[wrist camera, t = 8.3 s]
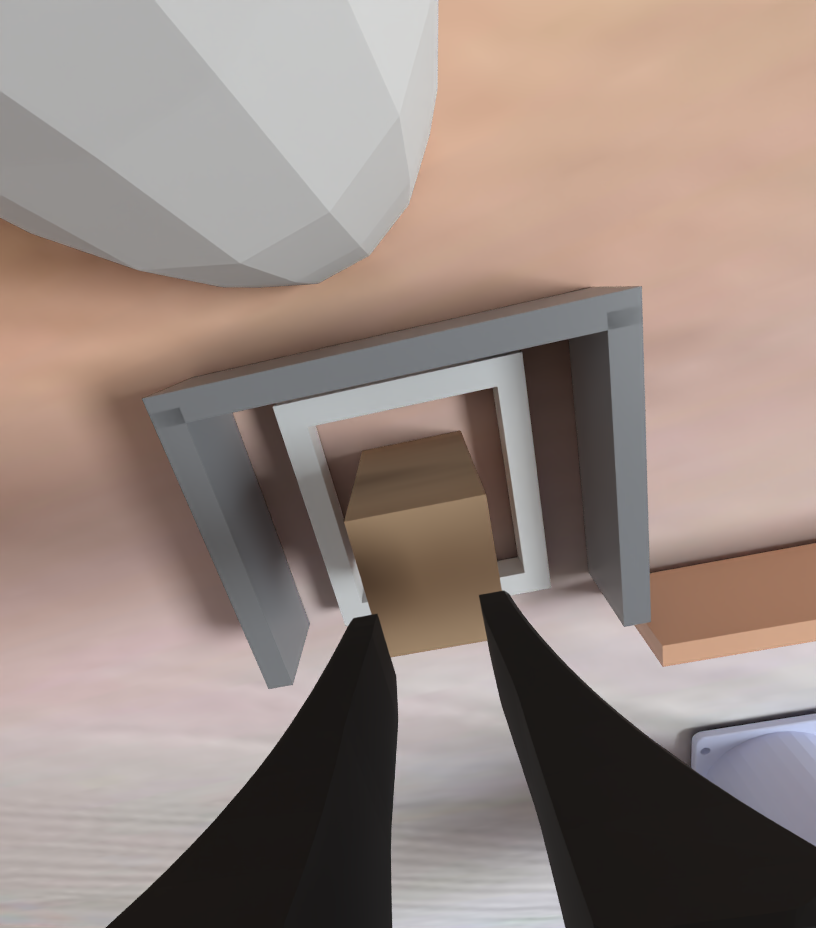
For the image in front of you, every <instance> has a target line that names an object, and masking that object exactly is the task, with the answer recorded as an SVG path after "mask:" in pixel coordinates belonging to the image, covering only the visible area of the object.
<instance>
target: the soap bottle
mask: <svg viewBox="0 0 816 928" xmlns="http://www.w3.org/2000/svg"><path fill="white" fill-rule="evenodd" d="M437 86H438V0H0V218H2V219H4V220H6V221H7V222H9V223H11V224H13V225H15V226H17V227H19V228H21V229H23V230H25V231H27V232H29V233H31V234H34V235H37V236H40V237H43V238H46V239H49V240H52V241H54V242H57V243H60V244H63V245H66V246H69V247H72V248H75V249H78V250H81V251H83V252H86V253H89V254H92V255H95V256H98V257H101V258H104V259H107V260H110V261H113V262H115V263H118V264H121V265H124V266H127V267H130V268H133V269H136V270H139V271H144V272H149V273H154V274H159V275H164V276H169V277H174V278H179V279H184V280H189V281H194V282H199V283H204V284H209V285H214V286H219V287H247V288H262V287H276V286H291V285H306V284H318V283H320V282H322V281H324V280H325V279H327V278H329V277H331V276H333V275H335V274H336V273H338V272H340V271H342V270H344V269H346V268H347V267H349V266H351V265H353V264H355V263H357V262H358V261H360V260H362V259H364V258H366V257H368V256H369V255H370V254H371V253H372V252H373V250H374V249H375V248H376V246H377V245H378V244H379V242H380V241H381V240H382V239H383V237H384V236H385V235H386V233H387V232H388V231H389V230H390V228H391V227H392V226H393V224H394V223H395V222H396V221H397V219H398V218H399V217H400V215H401V214H402V213H403V211H404V210H405V209H406V208H407V206H408V205H409V202H410V199H411V195H412V192H413V189H414V185H415V182H416V179H417V176H418V172H419V169H420V166H421V162H422V159H423V156H424V152H425V149H426V146H427V142H428V139H429V136H430V130H431V124H432V118H433V112H434V106H435V101H436V95H437Z"/></svg>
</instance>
